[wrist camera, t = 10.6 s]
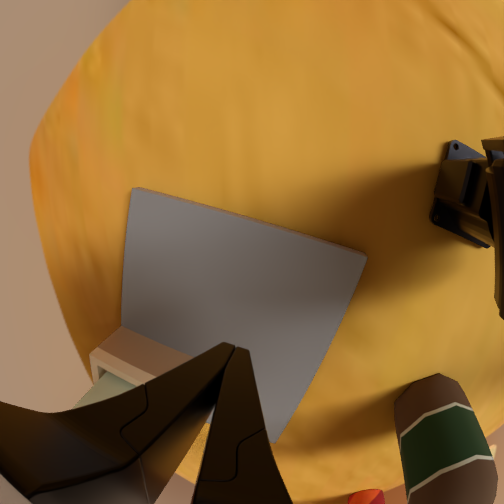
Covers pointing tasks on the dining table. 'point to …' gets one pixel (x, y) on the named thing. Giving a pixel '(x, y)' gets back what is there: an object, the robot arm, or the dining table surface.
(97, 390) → the green block
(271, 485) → the robot arm
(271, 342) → the board
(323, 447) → the dining table surface
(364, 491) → the paper cup
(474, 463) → the beer bottle
